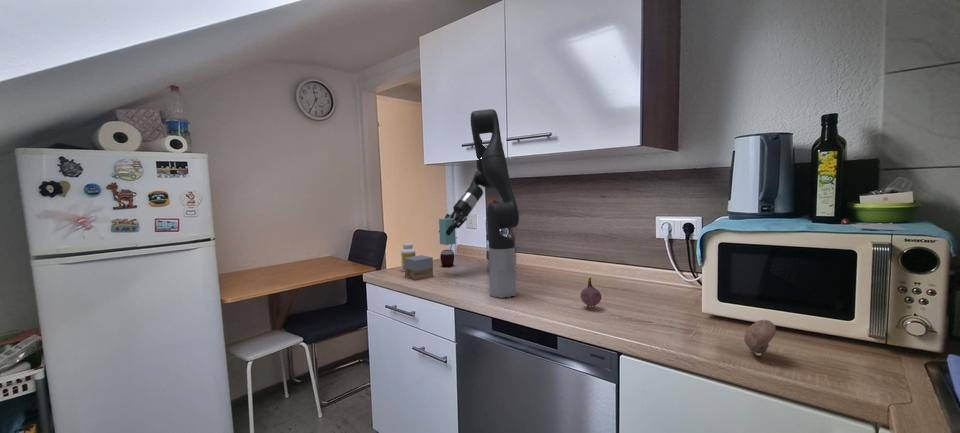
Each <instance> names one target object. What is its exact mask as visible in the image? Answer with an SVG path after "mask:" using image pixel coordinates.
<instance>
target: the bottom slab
mask: <svg viewBox="0 0 960 433" xmlns="http://www.w3.org/2000/svg"><path fill="white" fill-rule="evenodd" d="M404 278H407V279H408V280H409V279H410V280H412V281H415V282H416V281H420V280H426V279H431V278H434V267H433V268H429V269H424V270H419V271H414V270H410V269H406V268H405V272H404Z"/></svg>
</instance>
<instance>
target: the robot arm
mask: <svg viewBox="0 0 960 433" xmlns="http://www.w3.org/2000/svg"><path fill="white" fill-rule="evenodd" d="M470 127H471V128H470V129H471V135H472V140H473V141H472V142H473V145H474V150H475V157H476V156H477V158H478V159H479V160H475V162H476V169H477V171H475V173H474V174H473V178H472V181H471V183H470V185H469V187H468V188H467V190H466V191H465V192H464V193H463V194H462V195H461V197H460V198H459V199H458V201H456V203H455V204H454V206H453V207H452V208H453V212H452V213H451V214H449V213H447V214H446V215H445V217H444V218H443V219H445V218H453V219H454V220H453V223H452V224H451V226H450V227H449V228H448V230H447V231H446V234H447V235H450V234H451V233H452V232H453V230H454V229H455V230H456V229H460V228H461V226H462V225H463V224H465V222H466V221H467V220H468V217H469V215H470V214H471V212H472V210H474V208H475V206H476V205H477V203H478V202H479V200H480V199H481V198H482V196H483V194H484V191H483V189H482V187H483V188H486V189H492V188H494V189H495V190H496V191H497V192H498V194H499V195H500V198H501V199H502V202H491V203H489V204H488V205H487V208H486V220H487V237H488V238H487V239H488V267H489V270H488V272H489V274H488V275H489V276H488V278H489V279H488V280H489V295H490V296H491V297H492V298H498V297H499V299H505V297H507V298H511V296H514V297H516V296H517V285H516V284H517V283H516V282H517V281H516V280H517V278H516V262H515V260H516V258H515V257H516V254H515V253H516V252H515V251H516V250H515V246H516V245H515V240H514V239H513V238H512V237H508V236H505V235H503V234H501V232H500V229H511V228H512V229H513V228H516V227H517V226H518V225H519V221H520V214H519V209H518V204H517V201H516V198H515V195H514V191H513V188H512V184H511V180H510V174H509V169H508V164H507V160H506V155H505V151H504V147H503V143H502V142H503V140H502V137H501V129H500V123H499V117H498V113H497V111H496V109H490V108H489V109H480V110H474V111H471V113H470ZM482 134H483V135H484V134H491V137H490V141H489V142H488V145H486V146H487V148H485V147H484V146H483V145H482V141H483V140H482V138H481V135H482ZM481 157H482V159H480V158H481ZM480 186H481V187H480ZM454 223H455V224H454ZM438 233H439V234H440V232H439V231H438Z"/></svg>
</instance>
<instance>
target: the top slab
mask: <svg viewBox="0 0 960 433" xmlns="http://www.w3.org/2000/svg"><path fill="white" fill-rule="evenodd" d="M433 260H434V258H433V257H432V256H426V255H422V254H420V255H415V256H413V257H407V258H404V268H406V269H410V270H414V271H419V270H424V269H429V268H433V269H434V262H433Z"/></svg>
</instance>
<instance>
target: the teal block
mask: <svg viewBox="0 0 960 433" xmlns="http://www.w3.org/2000/svg"><path fill="white" fill-rule="evenodd" d="M444 218H445V217H444ZM444 218H438V225H439V229H438V233H439V232H440V233H439V244H440V245H444V246H449V245H450V246H451V244H452V245H456V242H457V238H456V237H457V236H456V229H454V230H453V232H452V233H451V234H450V235H447V234H446V231H447V230H448V228H449V227H450V226H451V224H452V223H453V220H454V219H453V218H445V219H444ZM454 224H455V223H454Z"/></svg>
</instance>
